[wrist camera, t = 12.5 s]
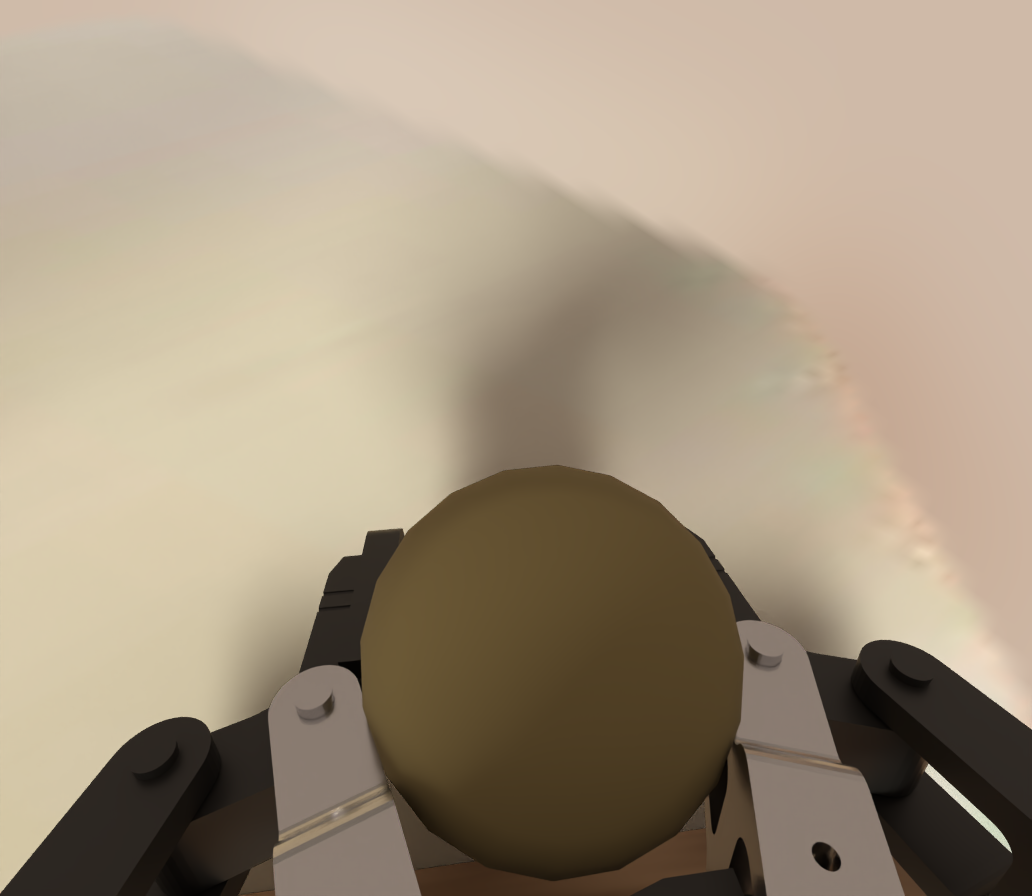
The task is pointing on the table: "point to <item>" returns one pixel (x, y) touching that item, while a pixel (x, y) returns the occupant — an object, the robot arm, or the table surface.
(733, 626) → the olive pawn
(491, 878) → the walnut crate
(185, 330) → the table surface
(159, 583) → the table surface
